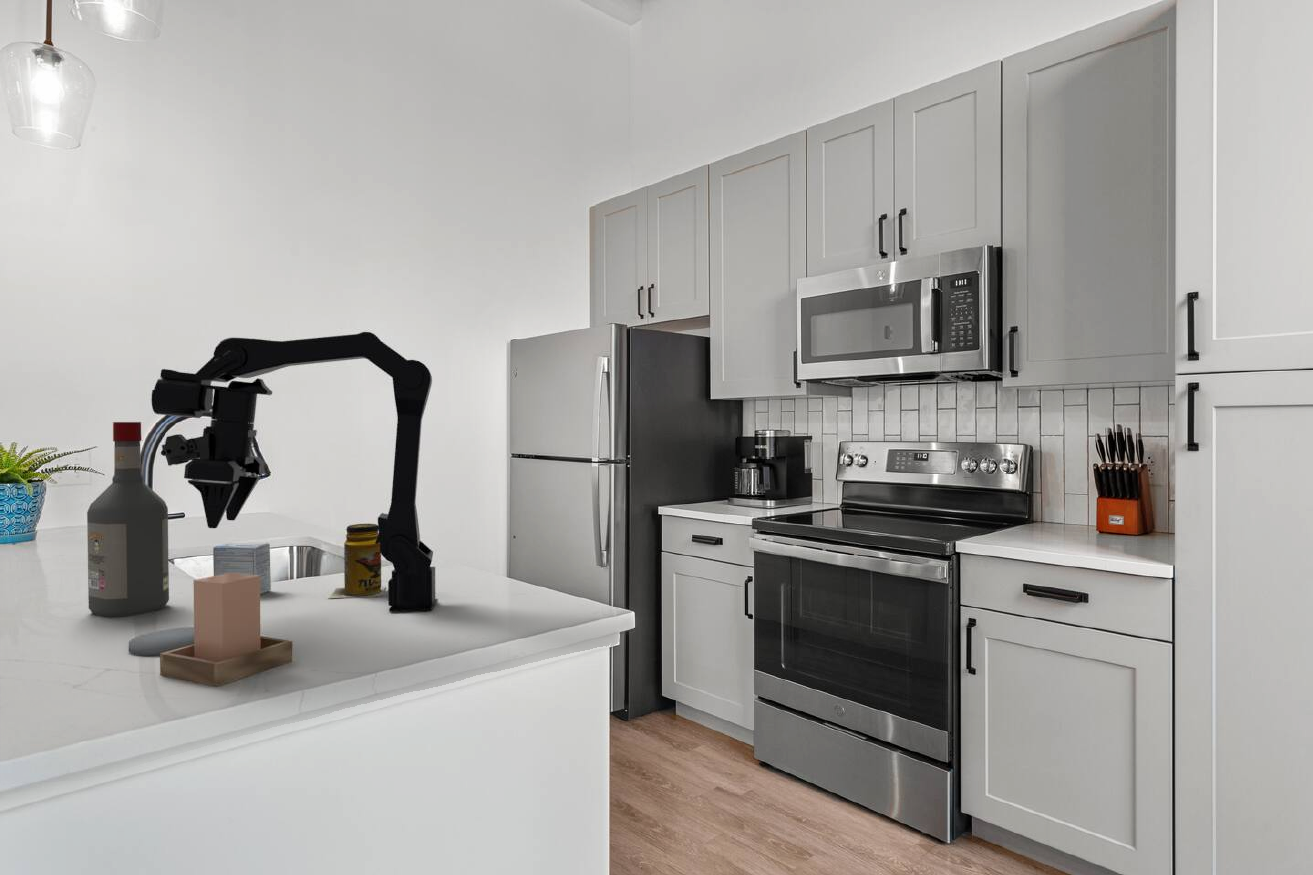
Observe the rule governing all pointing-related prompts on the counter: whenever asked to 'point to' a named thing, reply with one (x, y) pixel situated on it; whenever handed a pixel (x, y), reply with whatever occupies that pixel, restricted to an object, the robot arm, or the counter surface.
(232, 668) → the wooden tray
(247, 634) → the tan rectangular block
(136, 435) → the liquor
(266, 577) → the grey rectangular block
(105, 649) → the counter surface
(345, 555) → the condiment
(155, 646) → the coaster
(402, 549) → the robot arm
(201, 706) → the counter surface
